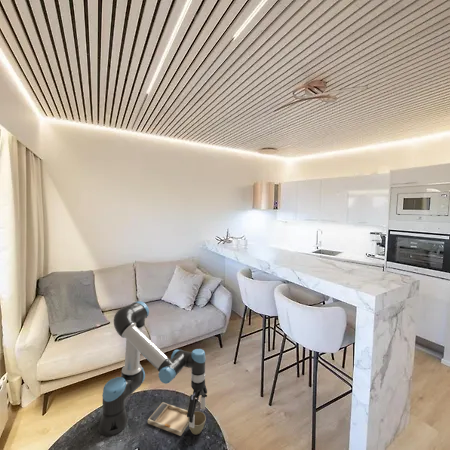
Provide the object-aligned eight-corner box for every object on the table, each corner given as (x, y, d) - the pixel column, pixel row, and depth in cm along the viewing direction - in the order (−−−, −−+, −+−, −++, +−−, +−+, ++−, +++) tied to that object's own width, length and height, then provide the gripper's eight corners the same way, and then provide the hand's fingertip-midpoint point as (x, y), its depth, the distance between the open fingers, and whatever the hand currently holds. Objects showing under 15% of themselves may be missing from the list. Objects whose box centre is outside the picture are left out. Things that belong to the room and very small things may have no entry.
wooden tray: (147, 423, 139) (147, 418, 138) (162, 405, 152) (162, 401, 152) (180, 436, 131) (180, 431, 131) (193, 416, 145) (193, 411, 145)
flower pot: (202, 440, 129) (202, 427, 129) (184, 436, 131) (185, 423, 131) (207, 425, 139) (207, 412, 139) (190, 421, 141) (191, 409, 141)
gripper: (193, 395, 121) (193, 438, 122) (213, 368, 145) (212, 403, 145) (180, 392, 124) (179, 433, 124) (201, 365, 147) (201, 400, 148)
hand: (197, 417), depth 135 cm, fingers open, 13 cm apart
